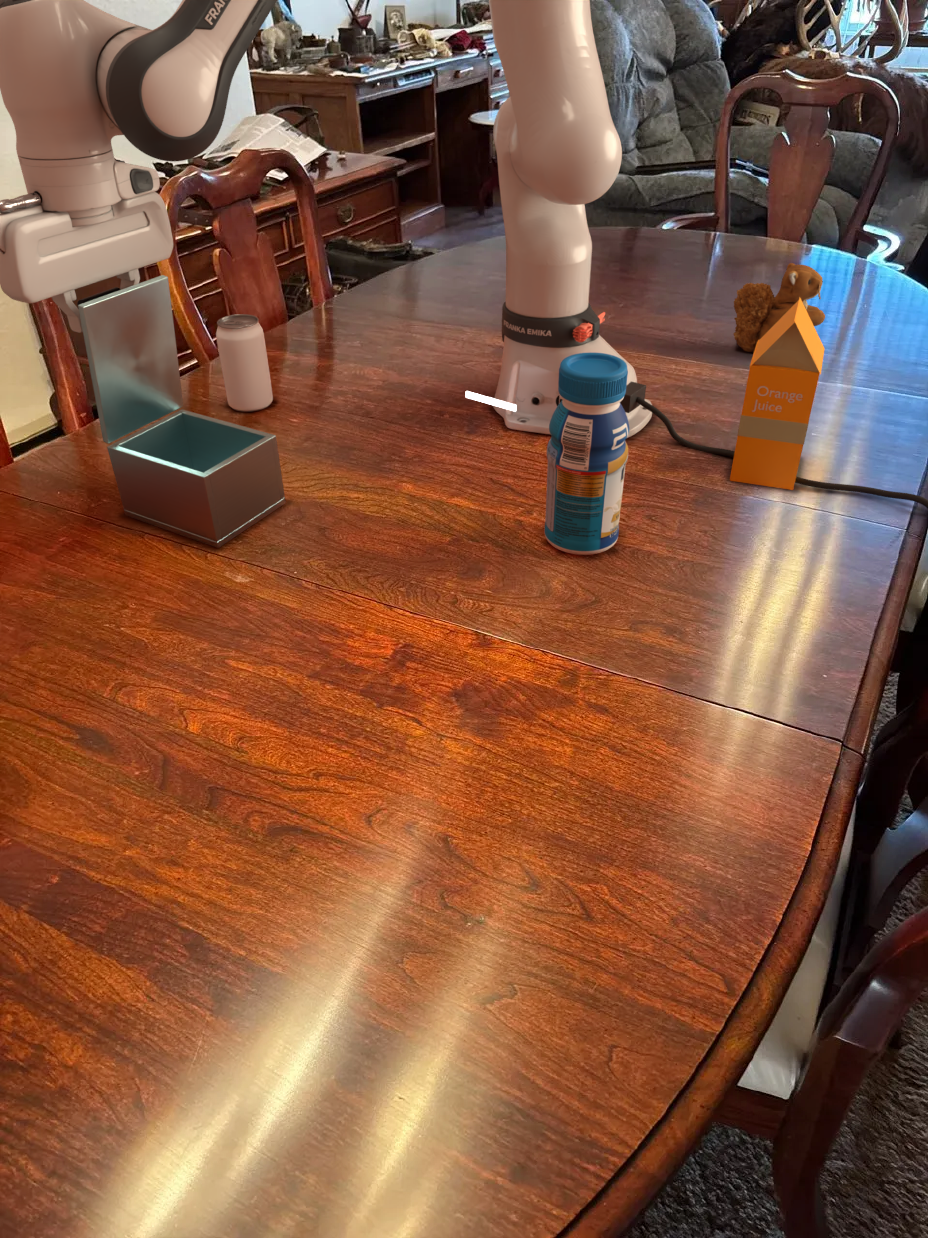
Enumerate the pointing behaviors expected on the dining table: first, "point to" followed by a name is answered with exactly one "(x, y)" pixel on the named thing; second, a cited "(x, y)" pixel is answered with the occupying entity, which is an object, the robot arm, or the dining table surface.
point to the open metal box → (198, 476)
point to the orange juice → (778, 402)
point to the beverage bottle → (587, 454)
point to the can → (244, 362)
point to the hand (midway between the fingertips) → (105, 321)
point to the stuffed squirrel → (774, 304)
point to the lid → (131, 355)
